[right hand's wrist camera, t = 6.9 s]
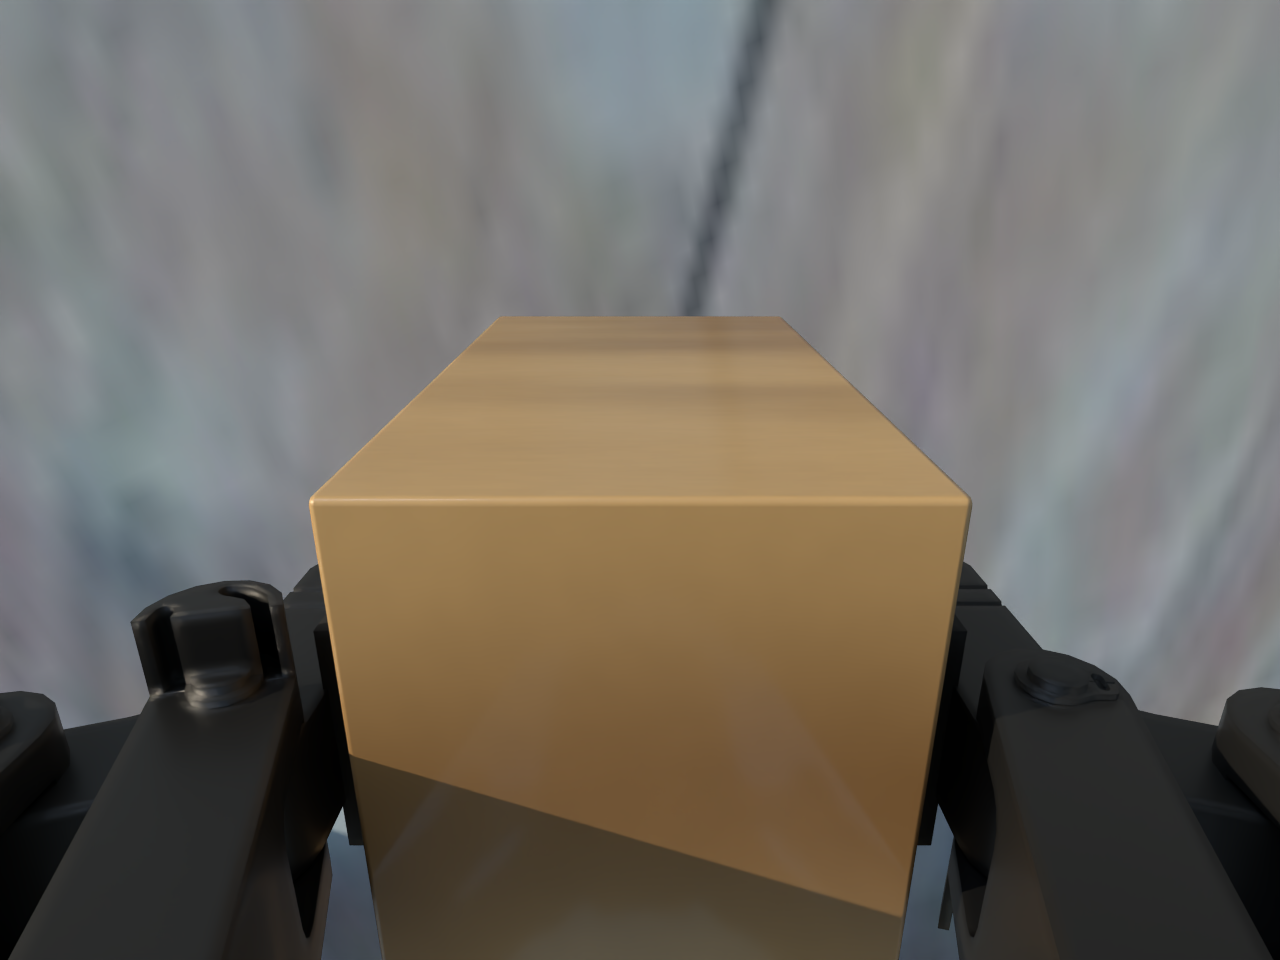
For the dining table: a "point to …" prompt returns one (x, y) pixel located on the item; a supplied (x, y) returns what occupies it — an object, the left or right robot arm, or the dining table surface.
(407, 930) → the bar
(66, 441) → the dining table surface
